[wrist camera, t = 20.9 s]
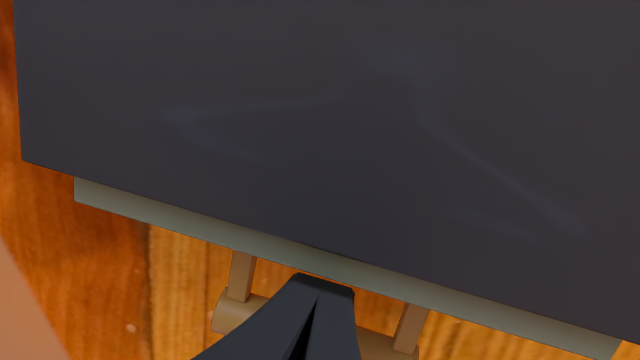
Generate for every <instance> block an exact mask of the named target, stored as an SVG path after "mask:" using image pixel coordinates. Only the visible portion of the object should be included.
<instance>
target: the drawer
mask: <svg viewBox="0 0 640 360" xmlns="http://www.w3.org/2000/svg"><path fill="white" fill-rule="evenodd" d="M74 200H75V201H76V202H79V203H82V204H85V205H89V206H92V207H95V208H98V209H102V210H105V211H108V212H112V213H115V214H118V215H121V216H125V217H128V218H131V219H135V220H138V221H141V222H144V223H148V224H151V225H154V226H158V227H161V228H164V229H167V230H171V231H174V232H177V233H181V234H184V235H187V236H190V237H194V238H197V239H200V240H204V241H207V242H210V243H214V244H217V245H220V246H223V247H227V248H230V249H233V256H232V263H231V269H230V275H229V282H228V286H227V287H226V288H225V289H224V290H223V292H222V293H221V295H220V297H219V299H218V302H217V304H216V307H215V310H214V313H213V317H212V323H211V329H212V331H213V332H216V333H219V334H222V335H225V336H226V335H227V334H228V333H230V332H231V331H232V330H234V329H235V328H236V327H238V326H239V325H240V324H242V323H243V322H244V321H245V320H247V319H248V318H249V317H250V316H251V315H252V314H254V313H255V312H256V311H257V310H258V309H259V308H261V307H262V306H263V305H264V304H265V303H266V302H267V301H268V300H269V298H266V297H263V296H259V295H256V294H253V293H250V292H251V288H252V283H253V277H254V272H255V266H256V261H257V257H260V258H263V259H266V260H269V261H273V262H276V263H279V264H283V265H286V266H289V267H292V268H296V269H299V270H302V271H306V272H309V273H312V274H315V275H319V276H322V277H325V278H329V279H332V280H335V281H338V282H342V283H345V284H348V285H352V286H355V287H358V288H361V289H365V290H368V291H371V292H375V293H378V294H381V295H384V296H388V297H391V298H394V299H398V300H401V301H404V302H406V303H405V306H404V309H403V311H402V314H401V317H400V320H399V323H398V325H397V328H396V331H395V334H394V337H391V336H388V335H384V334H381V333H378V332H375V331H372V330H368V329H365V328H362V327H359V326H356V333H357V339H358V345H359V350H360V355H361V360H418V359H419V347H418V345H417V342H418V340H419V337H420V335H421V332H422V330H423V327H424V324H425V322H426V319H427V317H428V314H429V311H430V310H434V311H437V312H440V313H444V314H447V315H450V316H453V317H457V318H460V319H463V320H467V321H470V322H473V323H477V324H480V325H483V326H486V327H490V328H493V329H496V330H500V331H503V332H506V333H509V334H513V335H516V336H519V337H523V338H526V339H529V340H532V341H536V342H539V343H542V344H546V345H549V346H552V347H555V348H559V349H562V350H565V351H569V352H572V353H575V354H578V355H582V356H585V357H588V358H592V359H595V360H611V358H612V356H613V355H614V353H615V351H616V350H617V348H618V347H619V345H620V343H621V342H622V340H621V339H618V338H615V337H611V336H608V335H605V334H601V333H598V332H594V331H591V330H588V329H584V328H581V327H578V326H574V325H571V324H568V323H564V322H561V321H558V320H554V319H551V318H548V317H544V316H541V315H538V314H534V313H531V312H527V311H524V310H521V309H517V308H514V307H511V306H507V305H504V304H501V303H497V302H494V301H491V300H487V299H484V298H481V297H477V296H474V295H471V294H467V293H464V292H460V291H457V290H454V289H450V288H447V287H444V286H440V285H437V284H434V283H430V282H427V281H424V280H420V279H417V278H414V277H410V276H407V275H404V274H400V273H397V272H393V271H390V270H387V269H383V268H380V267H377V266H373V265H370V264H367V263H363V262H360V261H357V260H353V259H350V258H347V257H343V256H340V255H337V254H333V253H330V252H326V251H323V250H320V249H316V248H313V247H310V246H306V245H303V244H300V243H296V242H293V241H290V240H286V239H283V238H280V237H276V236H273V235H270V234H266V233H263V232H259V231H256V230H253V229H249V228H246V227H243V226H239V225H236V224H233V223H229V222H226V221H223V220H219V219H216V218H213V217H209V216H206V215H203V214H199V213H196V212H192V211H189V210H186V209H182V208H179V207H176V206H172V205H169V204H166V203H162V202H159V201H156V200H152V199H149V198H146V197H142V196H139V195H136V194H132V193H129V192H125V191H122V190H119V189H115V188H112V187H109V186H105V185H102V184H99V183H95V182H92V181H89V180H85V179H82V178H79V177H75V176H74Z"/></svg>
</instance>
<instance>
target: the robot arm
mask: <svg viewBox="0 0 640 360" xmlns="http://www.w3.org/2000/svg"><path fill="white" fill-rule="evenodd" d="M354 296H355V293H354V292H353V290H352V288H349V287H346V286H343V285H340V284H336V283H333V282H330V281H326V280H323V279H320V278H317V277H313V276H310V275H307V274H303V273H300V272H298V273H296V274H294V275H292V277H291V278H290V279H289V280H288V281H287V282H286V284H285V285H284V286H283V287H282V288H281V289H280V290H279V291H278V292H277V293H276V294H275V295H274V296H273V297H272V298H270V299H269V300H268V301H267V302H266V303H265V304H264V305H263V306H262V307H261V308H259V309H258V310H257V311H256V312H255V313H254V314H252V315H251V316H250V317H249V318H248V319H247V320H245V321H244V322H243V323H242V324H240V325H239V326H238V327H236V328H235V329H234V330H232V331H231V332H230V333H228V334H227V335H226V336H224V337H223V338H222V339H220V340H219V341H218V342H216V343H215V344H213V345H212V346H210V347H209V348H207V349H206V350H205V351H203V352H201V353H200V354H198V355H197V356H195V357H194V358H192V359H190V360H361V355H360V350H359V345H358V339H357V333H356V324H355V314H354Z"/></svg>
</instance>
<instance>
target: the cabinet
mask: <svg viewBox="0 0 640 360" xmlns="http://www.w3.org/2000/svg"><path fill="white" fill-rule="evenodd" d="M13 16H14V34H15V51H16V69H17V86H18V104H19V121H20V138H21V156H22V160H23V161H25V162H28V163H32V164H35V165H38V166H42V167H45V168H48V169H52V170H55V171H58V172H62V173H65V174H69V175H72V176H75V177H79V178H82V179H85V180H89V181H92V182H95V183H99V184H102V185H105V186H109V187H112V188H115V189H119V190H122V191H125V192H129V193H132V194H136V195H139V196H142V197H146V198H149V199H152V200H156V201H159V202H162V203H166V204H169V205H172V206H176V207H179V208H182V209H186V210H189V211H192V212H196V213H199V214H203V215H206V216H209V217H213V218H216V219H219V220H223V221H226V222H229V223H233V224H236V225H239V226H243V227H246V228H249V229H253V230H256V231H259V232H263V233H266V234H270V235H273V236H276V237H280V238H283V239H286V240H290V241H293V242H296V243H300V244H303V245H306V246H310V247H313V248H316V249H320V250H323V251H326V252H330V253H333V254H337V255H340V256H343V257H347V258H350V259H353V260H357V261H360V262H363V263H367V264H370V265H373V266H377V267H380V268H383V269H387V270H390V271H393V272H397V273H400V274H404V275H407V276H410V277H414V278H417V279H420V280H424V281H427V282H430V283H434V284H437V285H440V286H444V287H447V288H450V289H454V290H457V291H460V292H464V293H467V294H471V295H474V296H477V297H481V298H484V299H487V300H491V301H494V302H497V303H501V304H504V305H507V306H511V307H514V308H517V309H521V310H524V311H527V312H531V313H534V314H538V315H541V316H544V317H548V318H551V319H554V320H558V321H561V322H564V323H568V324H571V325H574V326H578V327H581V328H584V329H588V330H591V331H594V332H598V333H601V334H605V335H608V336H611V337H615V338H618V339H621V340H625V341H628V342H631V343H635V344H638V345H640V0H13Z"/></svg>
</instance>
